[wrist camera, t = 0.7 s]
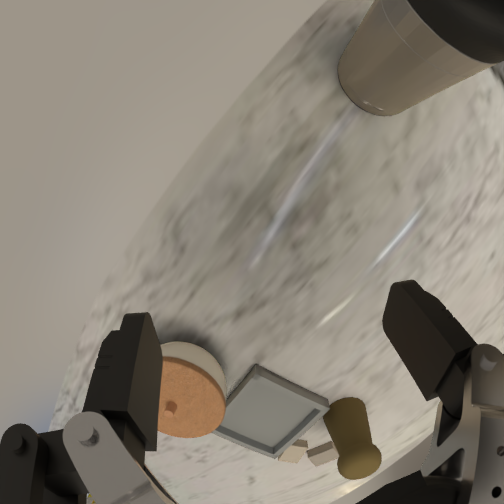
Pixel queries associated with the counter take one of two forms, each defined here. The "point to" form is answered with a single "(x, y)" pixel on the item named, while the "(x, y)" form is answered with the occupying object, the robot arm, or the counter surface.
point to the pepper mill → (352, 438)
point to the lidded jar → (190, 391)
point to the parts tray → (269, 413)
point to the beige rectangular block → (323, 454)
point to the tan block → (294, 452)
